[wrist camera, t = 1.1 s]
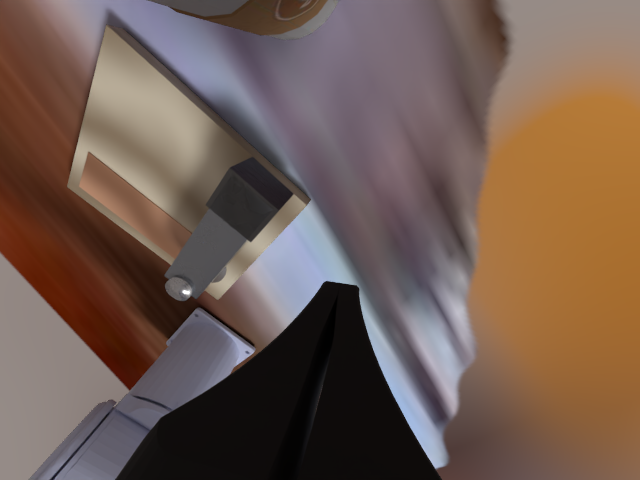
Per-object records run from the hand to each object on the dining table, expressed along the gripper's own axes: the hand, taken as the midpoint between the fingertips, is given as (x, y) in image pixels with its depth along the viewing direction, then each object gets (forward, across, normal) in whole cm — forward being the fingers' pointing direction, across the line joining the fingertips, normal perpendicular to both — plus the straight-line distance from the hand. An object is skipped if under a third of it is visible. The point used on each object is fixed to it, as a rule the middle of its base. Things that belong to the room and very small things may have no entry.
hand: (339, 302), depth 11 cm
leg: (+8, +10, +2) cm, 13 cm away
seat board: (+10, +14, 0) cm, 17 cm away
